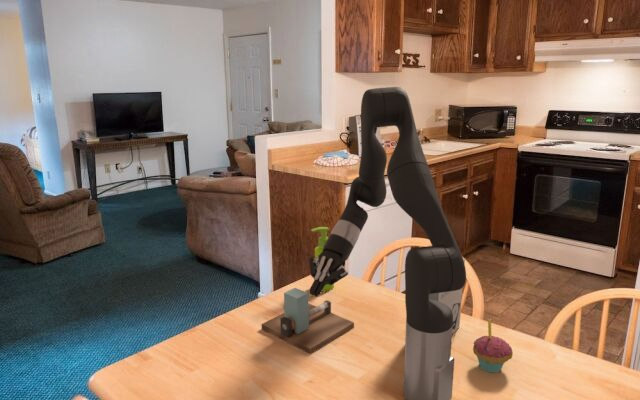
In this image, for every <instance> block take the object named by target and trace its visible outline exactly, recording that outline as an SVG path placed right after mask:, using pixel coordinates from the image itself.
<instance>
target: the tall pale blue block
mask: <svg viewBox="0 0 640 400" xmlns="http://www.w3.org/2000/svg"><path fill="white" fill-rule="evenodd" d="M283 302H284V303H283V304H284V313H285V317H286V318H291V319H292V320H293V321H294V323H295V328H294V332H295V333H297V334H299V333H301V332H303V331H305V330H307V329H308V328H309V306H308V303H309V292H307V291H303V290H302V289H300V288H297V287H294V288H292V289H289V290H287V291H284V292H283Z"/></svg>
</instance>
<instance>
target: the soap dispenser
mask: <svg viewBox="0 0 640 400" xmlns="http://www.w3.org/2000/svg"><path fill="white" fill-rule="evenodd" d="M310 231H312V233H317V232H321V233H320V234H321V236H319V237H318V246H315V248H314V259H315V258H317V257H319V255H320V254H321V253H322V252H323V247H324V245H325V243H326V241H327V239H328V237H329V236H328V235H327V234H328V232H327V231H330V227H328V226H318V227H314V228H311V229H310ZM334 285H335V283H334V284H332V285H329V284H327V285H325V286H324V288H323V290H322V291H321V292H330V291H332V290H333V289H334V287H335V286H334Z"/></svg>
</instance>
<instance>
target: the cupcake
mask: <svg viewBox="0 0 640 400" xmlns="http://www.w3.org/2000/svg"><path fill="white" fill-rule="evenodd" d="M487 327H488V328H487V329H488V335H484V336H483V335H482V336H480V337H479V338H476V339H475V340H474V341H473V348H472V351H473V354H474V355H475V356H476V358H477V360H478V361H477V362H478V364H479V368H480V369H482V370H483V371H484V372H487V373H493V374H496V373H499V372H501V370H502V369H503V366H504V364H505V363H507V362H508V361H509V360H511V359H512V358H513V349H512V346H511V345H510V343H508V342H506V341H505V340H504V339H503V338H501V337H499V336H496V335H495V336H494V335H492V319H491V317H490V316H489V315H488V319H487Z"/></svg>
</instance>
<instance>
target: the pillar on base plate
mask: <svg viewBox="0 0 640 400" xmlns="http://www.w3.org/2000/svg"><path fill="white" fill-rule="evenodd" d="M308 306H309V328H308V329H307V330H305V331H303V332H301V333H299V334H297V333H295V332H294V328H295V323H294V321H293V320H292V319H291V318H286V317H285V312H283V313H281V314H279V315H277V316H275V317H272V318H271V319H269V320H267V321H265V322H263V323H261V330H263V331H265V332H266V333H269V334H270V335H273V336H274V337H276V338H278V339H280V340H282V341H284V342H286V343H287V344H290V345H292V346H294V347H296V348H298V349H299V350H301V351H304V352H305V353H307V354H309V355H312V354H314V353H315V352H316V351H318V350H319V349H321V348H322V347H325V346H326V345H328V344H329V343H331V342H333V341H334V340H336V339H337V338H340V336H342V335H344V334H346V333H348V332H349V331H350V330H353V328H354V327H355V323H354V321H352V320H349V319H347V318H345V317H342V316H340V315H338V314H335V313H333V312H332V302H331V301H329V300H327V299H326V300H324V301H323V303H321V304H319V305H314V304H311V303H309V302H308Z"/></svg>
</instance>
